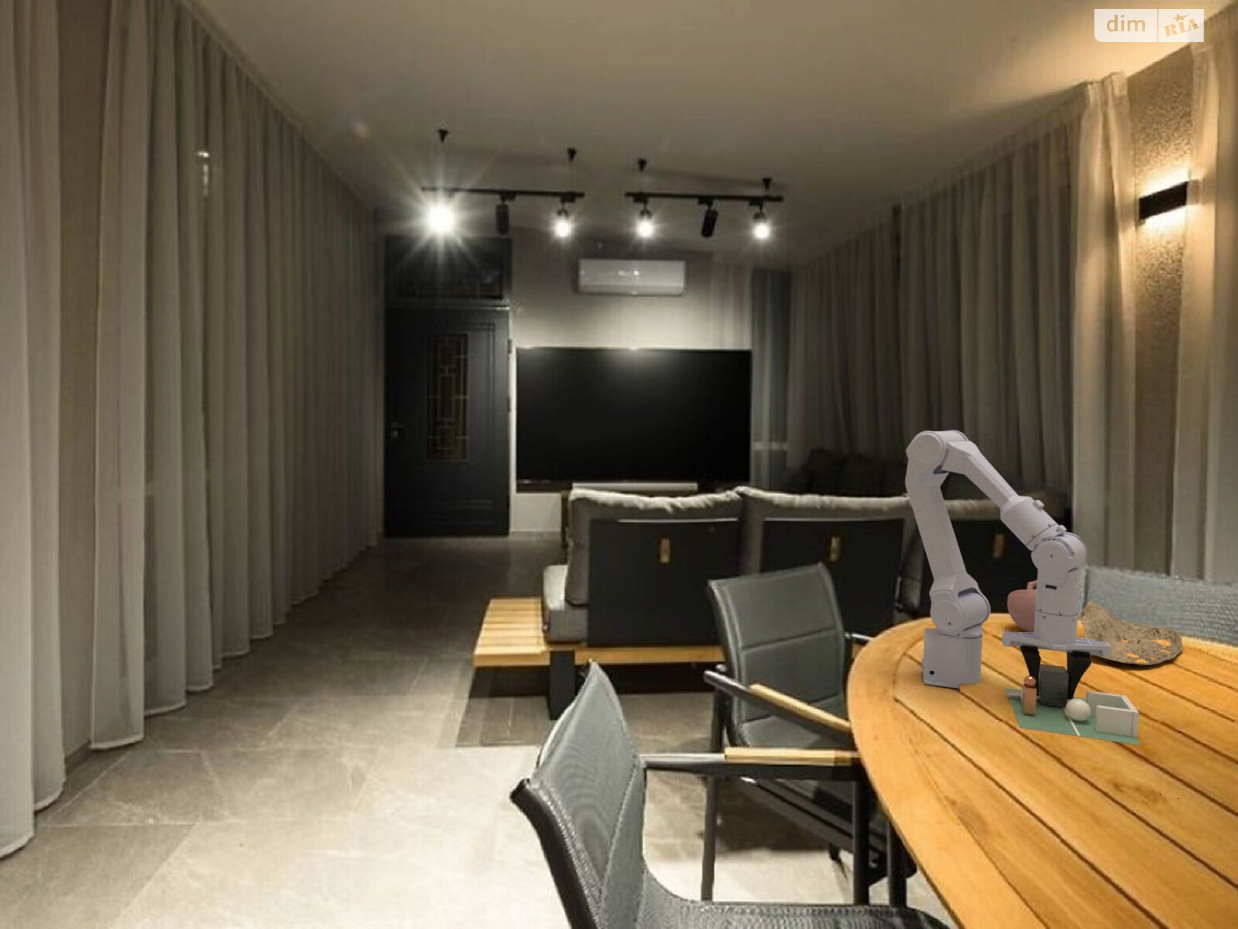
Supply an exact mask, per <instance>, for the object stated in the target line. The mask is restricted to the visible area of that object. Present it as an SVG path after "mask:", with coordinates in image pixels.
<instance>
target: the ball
mask: <svg viewBox="0 0 1238 929" xmlns="http://www.w3.org/2000/svg"><path fill="white" fill-rule="evenodd" d="M1066 712H1067V714H1068V716H1069V717H1070V718H1072V719H1073V720H1076V721H1085V720H1087V719H1088V718H1089V717H1090V715H1091V709H1090V707H1089V705H1088V704H1087V703H1086V702H1085V701H1083V700H1081V699H1072V700H1070V701H1069V702H1068V703H1067V704H1066Z"/></svg>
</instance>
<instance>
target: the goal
mask: <svg viewBox="0 0 1238 929" xmlns="http://www.w3.org/2000/svg"><path fill="white" fill-rule="evenodd" d="M1086 703H1087V704H1088V705H1089V707H1090V709H1091V715H1090V716H1094V717H1096V721H1095V730H1096V731H1097V732H1104V733H1111V734H1118V735H1125V736H1132V737H1136V738H1139V737H1138V734H1139V719H1140V712H1139V710H1138V709H1137V708H1136V707H1135V706H1134V705H1133V703H1132V702H1131V701H1130V699H1129V698H1128V697H1127V695H1125V694H1117V693H1116V694H1115V693H1110V692H1109V693H1107V692H1101V691H1092V690H1086Z"/></svg>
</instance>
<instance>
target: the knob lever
mask: <svg viewBox="0 0 1238 929" xmlns="http://www.w3.org/2000/svg"><path fill="white" fill-rule="evenodd" d="M1068 676H1069V673H1068V672H1067V667H1065V666H1060V665H1054V664H1045V663H1044V664H1043V663H1040V670H1039V695H1036V690H1037V689H1036V687H1035V684H1036V679H1035V678H1034V677H1033V676H1029V675H1026V676H1025V677H1024V679H1023V683H1022V690H1023V692H1018V691H1010V690H1007V693H1006V696H1007V698H1008V697H1015V698H1019V700H1020V702H1021V705H1022V710H1023V712H1024V713H1025V714H1032V715H1035V709H1036V700H1037V701H1039V703H1040V704H1042V705H1049V706H1056V707H1064V708H1066V704H1067V703H1068V702H1069V701H1070V700H1069V699H1067V694H1068Z"/></svg>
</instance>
